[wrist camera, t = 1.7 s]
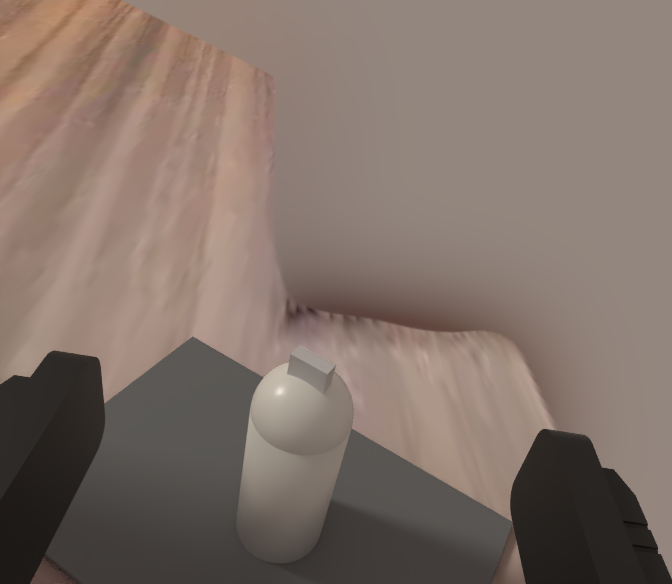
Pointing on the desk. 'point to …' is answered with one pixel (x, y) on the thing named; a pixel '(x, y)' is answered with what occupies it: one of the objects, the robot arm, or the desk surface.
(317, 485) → the white domed bottle
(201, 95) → the desk surface
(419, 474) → the desk mat
